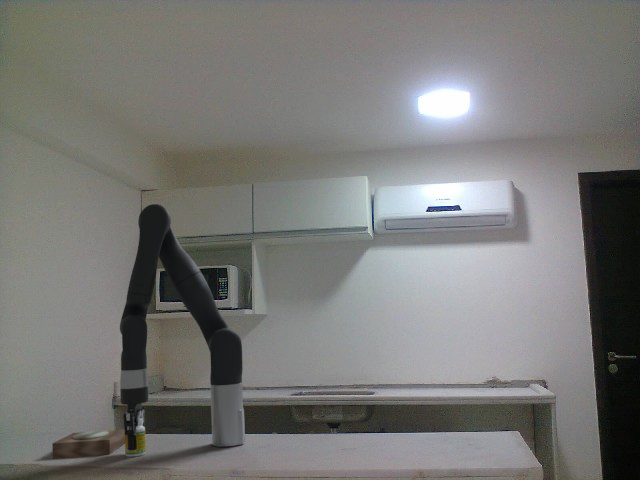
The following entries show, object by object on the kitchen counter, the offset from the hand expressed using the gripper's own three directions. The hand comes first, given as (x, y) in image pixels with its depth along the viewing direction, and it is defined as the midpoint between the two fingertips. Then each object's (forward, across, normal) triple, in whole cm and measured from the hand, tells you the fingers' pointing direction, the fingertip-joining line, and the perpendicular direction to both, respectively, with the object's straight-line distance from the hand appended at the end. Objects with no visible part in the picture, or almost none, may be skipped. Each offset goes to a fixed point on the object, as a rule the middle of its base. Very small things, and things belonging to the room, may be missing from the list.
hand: (135, 447), depth 170 cm
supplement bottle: (+2, 0, 0) cm, 2 cm away
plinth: (+2, +11, +16) cm, 20 cm away
